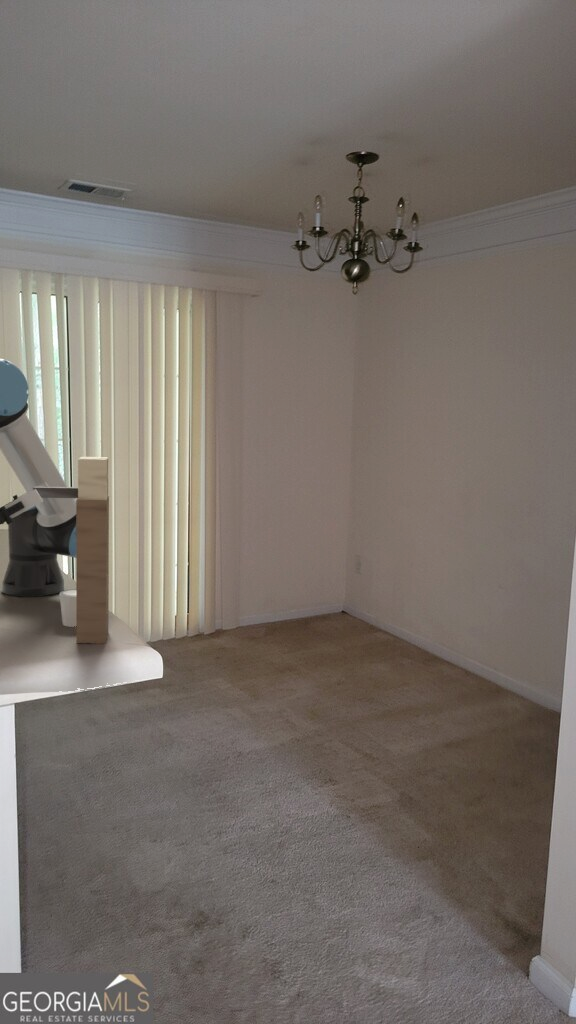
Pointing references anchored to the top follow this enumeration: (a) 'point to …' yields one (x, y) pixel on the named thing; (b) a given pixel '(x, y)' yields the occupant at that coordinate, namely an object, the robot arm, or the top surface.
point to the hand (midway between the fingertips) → (44, 491)
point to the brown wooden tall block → (92, 570)
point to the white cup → (68, 607)
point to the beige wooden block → (83, 482)
